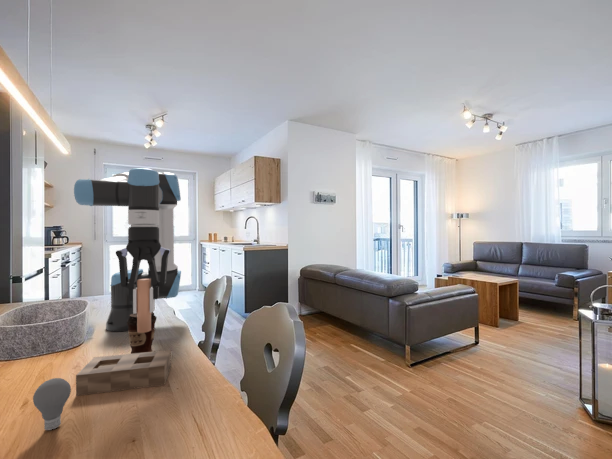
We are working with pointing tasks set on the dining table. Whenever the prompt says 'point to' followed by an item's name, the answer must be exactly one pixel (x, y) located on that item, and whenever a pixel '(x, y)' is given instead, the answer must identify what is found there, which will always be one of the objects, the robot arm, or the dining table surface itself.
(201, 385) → the dining table surface
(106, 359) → the bore block
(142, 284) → the dowel
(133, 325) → the coffee cup
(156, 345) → the dining table surface
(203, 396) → the dining table surface
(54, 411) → the light bulb
